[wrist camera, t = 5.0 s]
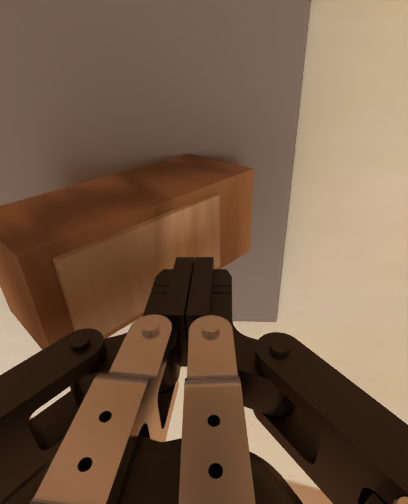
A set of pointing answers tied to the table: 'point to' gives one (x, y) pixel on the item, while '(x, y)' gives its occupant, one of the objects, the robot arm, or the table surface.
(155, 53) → the slate mat
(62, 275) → the walnut block
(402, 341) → the table surface
